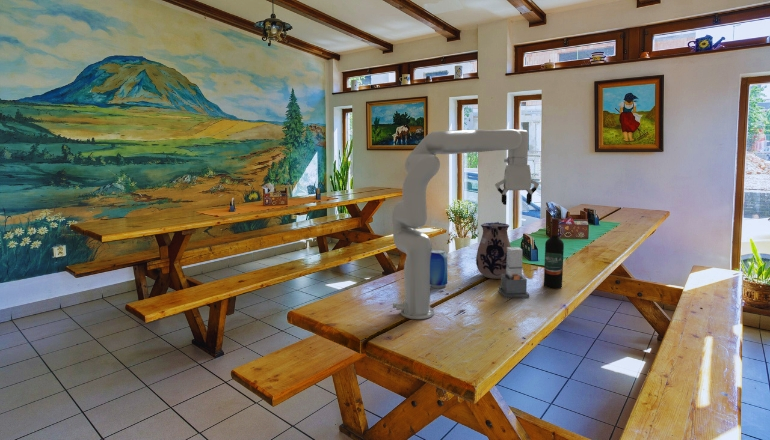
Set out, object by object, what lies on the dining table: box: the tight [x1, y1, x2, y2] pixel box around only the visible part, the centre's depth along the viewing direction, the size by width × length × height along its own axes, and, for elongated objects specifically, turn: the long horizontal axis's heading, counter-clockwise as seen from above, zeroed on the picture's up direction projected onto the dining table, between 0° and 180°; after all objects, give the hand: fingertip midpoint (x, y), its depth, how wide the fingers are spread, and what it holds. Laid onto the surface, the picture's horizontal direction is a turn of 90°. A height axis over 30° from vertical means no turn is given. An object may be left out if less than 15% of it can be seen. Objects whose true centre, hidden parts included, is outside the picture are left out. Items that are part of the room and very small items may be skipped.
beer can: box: [430, 248, 448, 289], centre depth 206 cm, size 8×8×16 cm
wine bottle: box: [543, 217, 565, 290], centre depth 200 cm, size 8×8×30 cm
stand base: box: [498, 274, 530, 299], centre depth 193 cm, size 10×10×9 cm
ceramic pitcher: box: [475, 221, 512, 280], centre depth 218 cm, size 18×21×25 cm
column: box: [506, 246, 523, 279], centre depth 192 cm, size 5×5×18 cm
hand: (516, 204), depth 186 cm, fingers open, 9 cm apart
